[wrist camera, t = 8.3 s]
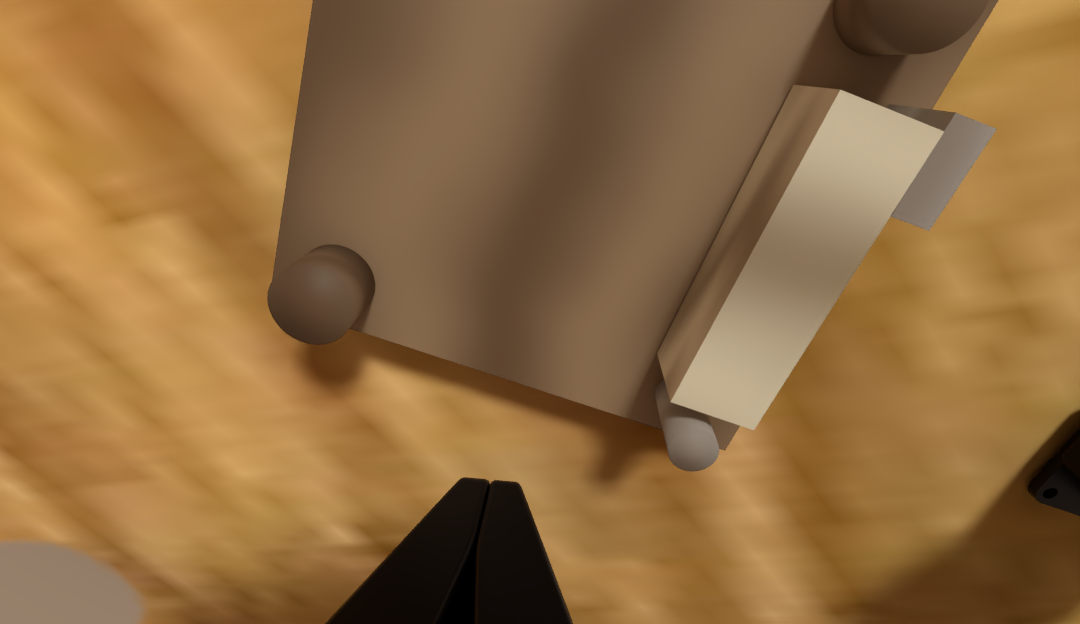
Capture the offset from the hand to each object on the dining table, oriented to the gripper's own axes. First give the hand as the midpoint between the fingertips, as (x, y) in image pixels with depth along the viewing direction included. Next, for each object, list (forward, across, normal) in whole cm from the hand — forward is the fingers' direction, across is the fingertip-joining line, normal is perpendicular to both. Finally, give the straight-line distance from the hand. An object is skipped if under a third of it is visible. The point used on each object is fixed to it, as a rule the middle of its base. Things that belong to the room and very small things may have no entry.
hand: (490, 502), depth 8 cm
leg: (+10, -6, -1) cm, 12 cm away
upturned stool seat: (+12, -1, -3) cm, 12 cm away
